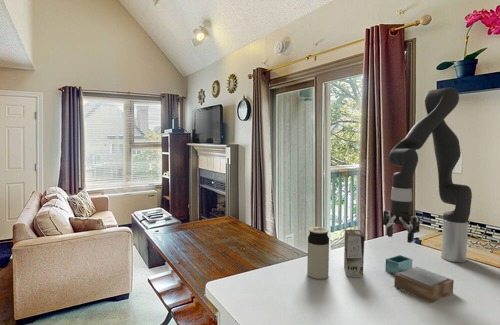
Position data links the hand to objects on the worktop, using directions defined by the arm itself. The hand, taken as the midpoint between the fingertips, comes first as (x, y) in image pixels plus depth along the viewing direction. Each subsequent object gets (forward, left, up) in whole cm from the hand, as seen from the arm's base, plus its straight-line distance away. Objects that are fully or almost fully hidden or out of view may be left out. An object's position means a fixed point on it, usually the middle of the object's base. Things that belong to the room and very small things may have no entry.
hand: (399, 239), depth 121 cm
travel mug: (+31, -13, -13) cm, 36 cm away
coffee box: (+17, -8, -13) cm, 23 cm away
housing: (0, 0, -13) cm, 13 cm away
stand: (+7, +14, -13) cm, 20 cm away
